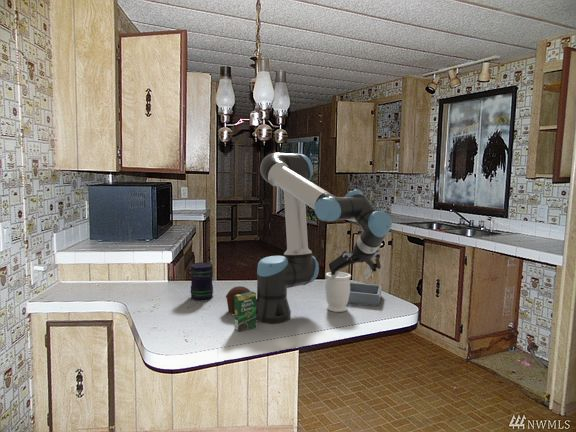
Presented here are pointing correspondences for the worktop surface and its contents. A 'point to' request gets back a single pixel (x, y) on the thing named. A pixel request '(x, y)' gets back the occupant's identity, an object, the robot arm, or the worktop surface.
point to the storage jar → (201, 281)
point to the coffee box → (245, 311)
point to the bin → (364, 294)
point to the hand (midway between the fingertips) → (348, 276)
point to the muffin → (231, 296)
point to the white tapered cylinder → (337, 291)
